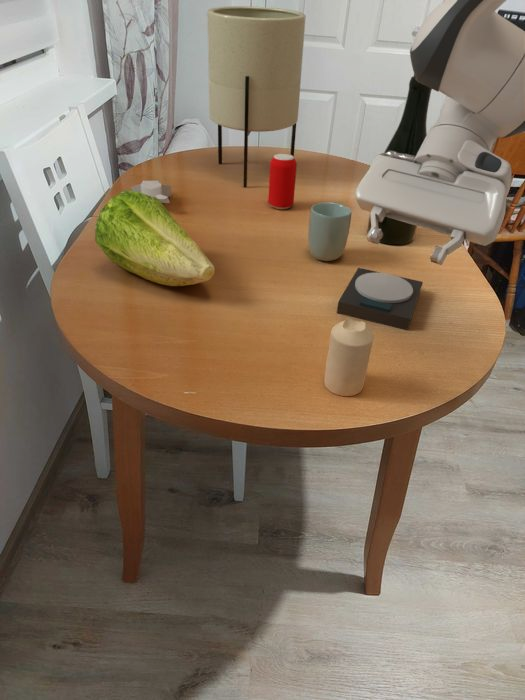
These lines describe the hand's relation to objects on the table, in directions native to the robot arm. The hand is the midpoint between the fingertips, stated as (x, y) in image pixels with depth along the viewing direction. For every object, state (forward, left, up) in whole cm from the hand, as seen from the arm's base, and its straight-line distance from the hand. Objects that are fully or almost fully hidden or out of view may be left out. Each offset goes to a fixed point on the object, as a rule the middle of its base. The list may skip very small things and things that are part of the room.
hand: (402, 251), depth 71 cm
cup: (+17, -26, -16) cm, 35 cm away
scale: (+3, -13, -16) cm, 21 cm away
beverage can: (+35, -48, -16) cm, 62 cm away
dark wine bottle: (+7, -43, -16) cm, 47 cm away
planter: (+51, -67, -16) cm, 86 cm away
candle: (+3, +12, -16) cm, 20 cm away
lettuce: (+41, -4, -16) cm, 44 cm away
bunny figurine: (+63, -35, -16) cm, 74 cm away
